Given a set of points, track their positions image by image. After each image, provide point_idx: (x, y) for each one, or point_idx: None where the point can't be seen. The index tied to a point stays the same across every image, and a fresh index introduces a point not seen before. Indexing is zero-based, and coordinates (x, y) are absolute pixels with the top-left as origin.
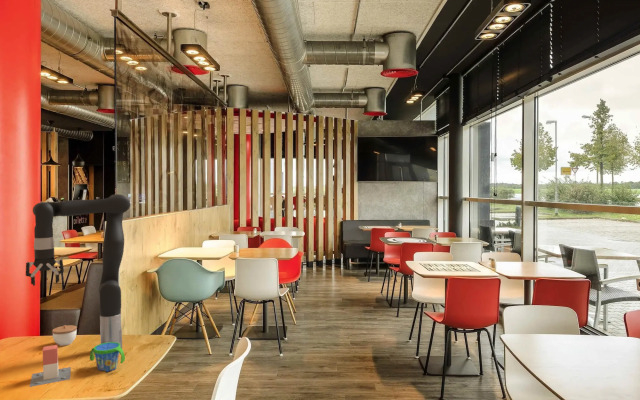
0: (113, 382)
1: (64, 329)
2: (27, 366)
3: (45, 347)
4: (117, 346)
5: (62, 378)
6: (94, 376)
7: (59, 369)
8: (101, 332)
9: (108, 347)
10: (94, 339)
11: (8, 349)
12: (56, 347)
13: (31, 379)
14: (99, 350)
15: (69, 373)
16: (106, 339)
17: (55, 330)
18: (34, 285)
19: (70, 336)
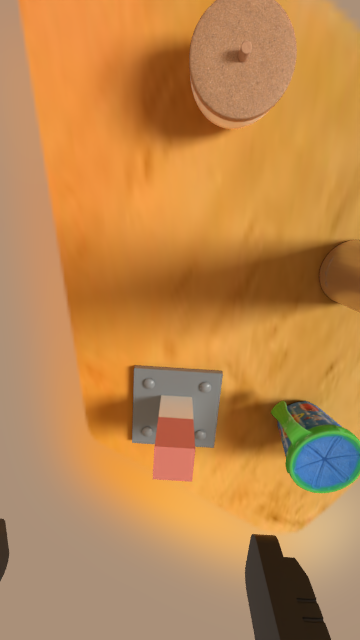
0: (290, 492)
1: (240, 83)
2: (117, 281)
3: (160, 455)
4: (351, 475)
5: (198, 439)
6: (263, 443)
7: (195, 375)
8: (356, 297)
9: (329, 457)
10: (334, 106)
11: (32, 28)
12: (191, 472)
13: (133, 403)
14: (299, 485)
15: (215, 414)
16: (354, 309)
17: (202, 73)
18: (3, 557)
19: (254, 122)
